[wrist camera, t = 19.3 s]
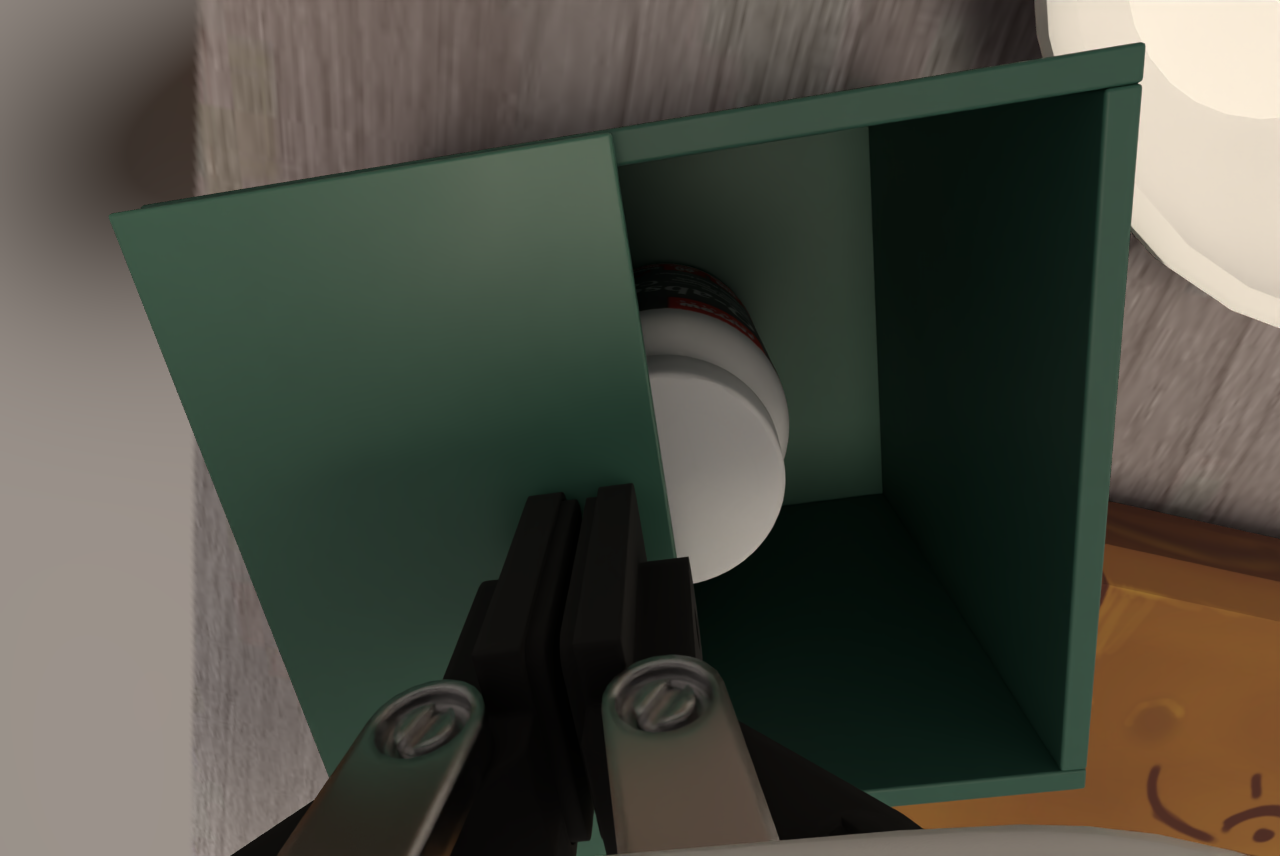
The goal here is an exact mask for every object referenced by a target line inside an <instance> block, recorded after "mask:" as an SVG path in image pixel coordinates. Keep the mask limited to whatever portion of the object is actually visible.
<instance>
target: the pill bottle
mask: <svg viewBox="0 0 1280 856" xmlns="http://www.w3.org/2000/svg"><path fill="white" fill-rule="evenodd" d="M633 274H634V280H635V287H636V293H637V300H638V306H639V313H640V319H641V326H642V332H643V339H644V345H645V352H646V358H647V365H648V371H649V378H650V384H651V391H652V397H653V404H654V410H655V417H656V423H657V430H658V436H659V443H660V449H661V456H662V462H663V469H664V475H665V482H666V488H667V495H668V501H669V508H670V515H671V521H672V528H673V534H674V541H675V547H676V554H677V558H680V557H688V556H689V560H690V566H691V572H692V579H693V584H694V583H699V582H702V581H706V580H708V579H711V578H714V577H717V576H719V575H721V574H723V573H725V572H727V571H729V570H731V569H732V568H734V567H735V566H737V565H739V564H740V563H741V562H743V561H744V560H745V559H746V558H747V557H748V556H750V555H751V554H752V553H753V552H754V551H755V550H756V549H757V548H758V547H759V546H760V545H761V543H762V542H763V541H764V540H765V538H766V537H767V536H768V534H769V532H770V531H771V529H772V528H773V526H774V524H775V521H776V519H777V517H778V515H779V512H780V509H781V506H782V502H783V498H784V492H785V465H784V457H785V454H786V450H787V444H788V439H789V414H788V407H787V401H786V398H785V394H784V390H783V387H782V384H781V382H780V379H779V376H778V374H777V371H776V369H775V367H774V366H773V363H772V361H771V359H770V357H769V355H768V353H767V351H766V349H765V347H764V345H763V343H762V341H761V339H760V337H759V335H758V333H757V331H756V328H755V326H754V324H753V322H752V320H751V317H750V315H749V314H748V312H747V310H746V308H745V307H744V305H743V304H742V302H741V301H740V300H739V299H738V297H737V296H736V295H735V294H734V293H733V292H732V291H731V290H730V289H729V288H728V287H727V286H726V285H725V284H723V283H722V282H721V281H719V280H718V279H716V278H715V277H713V276H711V275H710V274H708V273H706V272H704V271H701V270H698V269H696V268H693V267H689V266H685V265H679V264H666V263H661V264H651V265H646V266H642V267H638V268H635V269H633Z"/></svg>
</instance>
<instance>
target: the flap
mask: <svg viewBox="0 0 1280 856" xmlns="http://www.w3.org/2000/svg"><path fill="white" fill-rule="evenodd" d="M109 219H110V222H111V224H112V227H113V229H114V232H115V235H116V237H117V240H118V242H119V245H120V247H121V250H122V253H123V255H124V257H125V260H126V263H127V265H128V268H129V270H130V273H131V275H132V278H133V280H134V283H135V285H136V288H137V290H138V293H139V295H140V298H141V301H142V303H143V306H144V308H145V311H146V313H147V316H148V319H149V321H150V324H151V326H152V329H153V331H154V334H155V336H156V339H157V341H158V344H159V347H160V349H161V352H162V354H163V357H164V359H165V362H166V364H167V367H168V369H169V372H170V375H171V377H172V380H173V382H174V385H175V387H176V390H177V392H178V395H179V397H180V400H181V402H182V405H183V407H184V410H185V413H186V415H187V418H188V420H189V423H190V425H191V428H192V430H193V433H194V436H195V438H196V441H197V443H198V446H199V448H200V451H201V453H202V456H203V458H204V461H205V463H206V466H207V469H208V471H209V474H210V476H211V479H212V481H213V484H214V486H215V489H216V491H217V494H218V497H219V499H220V502H221V504H222V507H223V509H224V512H225V514H226V517H227V519H228V522H229V524H230V527H231V530H232V532H233V535H234V537H235V540H236V542H237V545H238V547H239V550H240V552H241V555H242V558H243V560H244V563H245V565H246V568H247V570H248V573H249V575H250V578H251V580H252V583H253V586H254V588H255V591H256V593H257V596H258V598H259V601H260V603H261V606H262V608H263V611H264V613H265V616H266V619H267V621H268V624H269V626H270V629H271V631H272V634H273V636H274V639H275V641H276V644H277V647H278V649H279V652H280V654H281V657H282V659H283V662H284V664H285V667H286V669H287V672H288V674H289V677H290V680H291V682H292V685H293V687H294V690H295V692H296V695H297V697H298V700H299V702H300V705H301V708H302V710H303V713H304V715H305V718H306V720H307V723H308V725H309V728H310V730H311V733H312V735H313V738H314V741H315V743H316V746H317V748H318V751H319V753H320V756H321V758H322V761H323V763H324V766H325V769H326V771H327V774H328V776H329V778H330V776H331V775H332V773H333V772H334V770H335V769H336V767H337V766H338V764H339V763H340V761H341V760H342V758H343V757H344V755H345V754H346V752H347V751H348V749H349V748H350V747H351V745H352V744H353V742H354V741H355V739H356V738H357V736H358V735H359V733H360V732H361V730H362V729H363V727H364V726H365V724H366V723H367V721H368V720H369V719H370V718H371V717H372V716H373V714H374V713H375V712H376V711H377V710H378V709H379V707H381V706H382V705H383V704H385V703H386V702H387V701H389V700H390V699H391V698H393V697H394V696H395V695H397V694H399V693H401V692H403V691H405V690H407V689H409V688H411V687H413V686H416V685H419V684H423V683H426V682H429V681H435V680H443V677H444V674H445V672H446V669H447V667H448V664H449V662H450V659H451V657H452V654H453V652H454V649H455V646H456V644H457V641H458V639H459V636H460V634H461V631H462V629H463V626H464V624H465V621H466V619H467V616H468V613H469V611H470V608H471V606H472V603H473V601H474V598H475V596H476V593H477V591H478V588H479V586H480V585H481V583H482V582H484V581H489V580H497V579H499V577H500V574H501V571H502V568H503V565H504V562H505V560H506V557H507V554H508V551H509V548H510V546H511V543H512V540H513V537H514V534H515V532H516V529H517V526H518V523H519V520H520V518H521V515H522V512H523V509H524V506H525V503H526V501H527V498H528V497H529V496H534V495H542V494H550V493H558V492H563V493H564V494H565V497H566V499H567V500H573V499H577V500H578V503H579V506H580V510H581V515H582V518H583V512H584V507H585V502H586V498H589V497H597V493H598V488H599V487H604V486H612V485H620V484H628V483H633V485H634V488H635V493H636V498H637V504H638V510H639V516H640V522H641V528H642V533H643V539H644V545H645V551H646V557H647V561H655V560H663V559H672V558H677V554H676V547H675V541H674V534H673V528H672V521H671V515H670V508H669V501H668V495H667V488H666V482H665V475H664V469H663V462H662V456H661V449H660V443H659V436H658V430H657V423H656V417H655V410H654V404H653V397H652V391H651V384H650V378H649V371H648V365H647V358H646V352H645V345H644V339H643V332H642V326H641V319H640V313H639V306H638V300H637V293H636V287H635V280H634V274H633V267H632V260H631V254H630V247H629V241H628V234H627V228H626V221H625V215H624V208H623V202H622V195H621V189H620V182H619V176H618V169H617V163H616V156H615V150H614V143H613V137H612V135H611V133H601V134H595V135H589V136H583V137H577V138H571V139H565V140H558V141H552V142H546V143H540V144H534V145H528V146H522V147H516V148H509V149H503V150H497V151H491V152H485V153H479V154H473V155H467V156H460V157H454V158H448V159H442V160H436V161H430V162H424V163H418V164H411V165H405V166H399V167H393V168H387V169H381V170H375V171H369V172H362V173H356V174H350V175H344V176H338V177H332V178H326V179H320V180H313V181H307V182H301V183H295V184H289V185H283V186H277V187H271V188H264V189H258V190H252V191H246V192H240V193H234V194H228V195H222V196H215V197H209V198H203V199H197V200H191V201H185V202H179V203H173V204H167V205H160V206H154V207H148V208H142V209H136V210H130V211H124V212H118V213H112V214H110V215H109ZM604 855H606V851H605V846H604V842H603V840H602V838H601V836H600V832H599V828H598V823H597V819H596V815H595V811H594V817H593V828H592V836H591V839H590V841H583V842H578V845H577V854H576V856H604Z"/></svg>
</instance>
